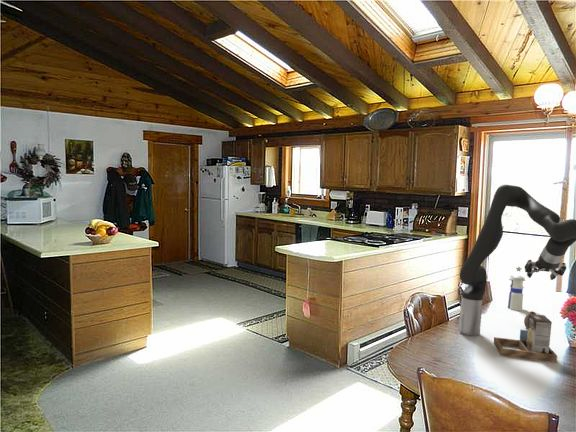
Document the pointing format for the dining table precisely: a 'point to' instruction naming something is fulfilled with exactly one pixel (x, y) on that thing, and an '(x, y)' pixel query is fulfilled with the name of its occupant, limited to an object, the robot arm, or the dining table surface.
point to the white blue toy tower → (516, 292)
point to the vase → (527, 319)
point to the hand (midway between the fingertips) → (540, 277)
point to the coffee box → (538, 333)
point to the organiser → (522, 349)
